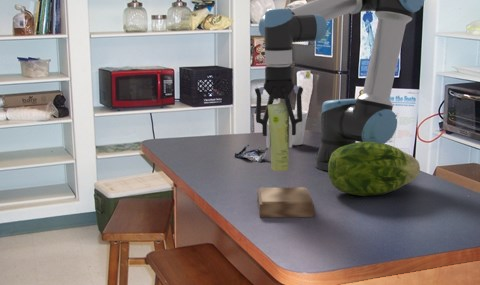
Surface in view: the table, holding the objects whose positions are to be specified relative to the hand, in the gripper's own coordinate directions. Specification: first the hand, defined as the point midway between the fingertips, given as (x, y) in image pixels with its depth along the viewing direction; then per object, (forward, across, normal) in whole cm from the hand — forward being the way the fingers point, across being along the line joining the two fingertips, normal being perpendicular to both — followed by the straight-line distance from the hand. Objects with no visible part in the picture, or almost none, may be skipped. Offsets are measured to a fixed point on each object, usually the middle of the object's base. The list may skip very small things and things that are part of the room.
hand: (279, 146), depth 179 cm
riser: (+14, 0, +14) cm, 19 cm away
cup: (+16, -11, -68) cm, 70 cm away
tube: (+7, 0, 0) cm, 7 cm away
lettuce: (+15, -27, 0) cm, 31 cm away
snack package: (+15, +7, -44) cm, 48 cm away
